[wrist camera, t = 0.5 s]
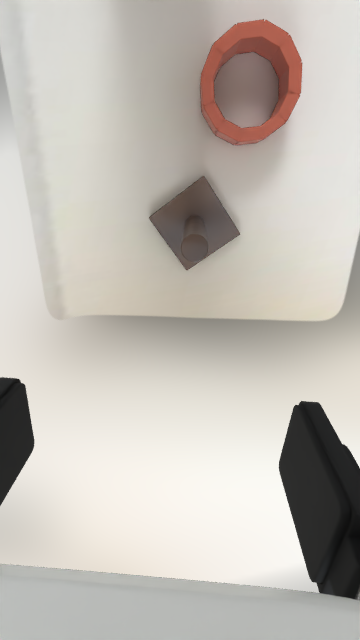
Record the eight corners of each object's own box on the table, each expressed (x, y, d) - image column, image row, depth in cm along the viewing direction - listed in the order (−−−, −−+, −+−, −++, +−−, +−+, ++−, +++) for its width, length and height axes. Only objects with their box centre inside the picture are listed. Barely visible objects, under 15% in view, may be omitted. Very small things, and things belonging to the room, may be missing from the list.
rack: (149, 216, 40) (128, 236, 27) (203, 175, 38) (207, 176, 25) (186, 268, 42) (183, 309, 29) (239, 232, 40) (260, 259, 27)
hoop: (183, 82, 34) (182, 71, 30) (261, 13, 31) (270, -8, 28) (230, 162, 37) (234, 161, 33) (305, 105, 34) (319, 97, 31)
